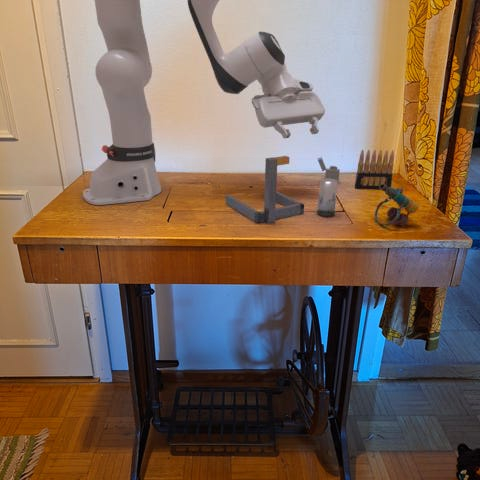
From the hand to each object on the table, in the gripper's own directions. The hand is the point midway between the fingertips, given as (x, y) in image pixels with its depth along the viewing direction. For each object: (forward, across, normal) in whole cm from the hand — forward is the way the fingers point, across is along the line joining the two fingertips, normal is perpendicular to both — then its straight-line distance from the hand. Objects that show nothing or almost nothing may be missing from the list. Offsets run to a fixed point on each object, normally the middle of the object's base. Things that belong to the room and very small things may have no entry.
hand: (301, 134), depth 117 cm
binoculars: (+32, +10, -4) cm, 33 cm away
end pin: (+22, -1, +4) cm, 22 cm away
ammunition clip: (+15, +26, +12) cm, 33 cm away
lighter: (+6, +18, +20) cm, 28 cm away
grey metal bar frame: (+14, -13, +11) cm, 22 cm away
